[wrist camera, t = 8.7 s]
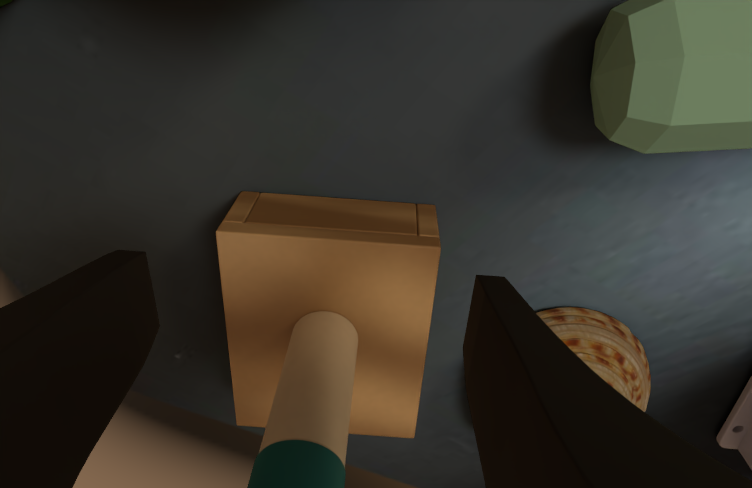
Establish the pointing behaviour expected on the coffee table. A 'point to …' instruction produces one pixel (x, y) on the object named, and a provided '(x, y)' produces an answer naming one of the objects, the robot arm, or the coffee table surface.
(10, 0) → the candle
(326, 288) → the wooden box
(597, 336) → the seashell
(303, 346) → the marker
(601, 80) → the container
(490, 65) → the coffee table surface
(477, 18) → the coffee table surface
